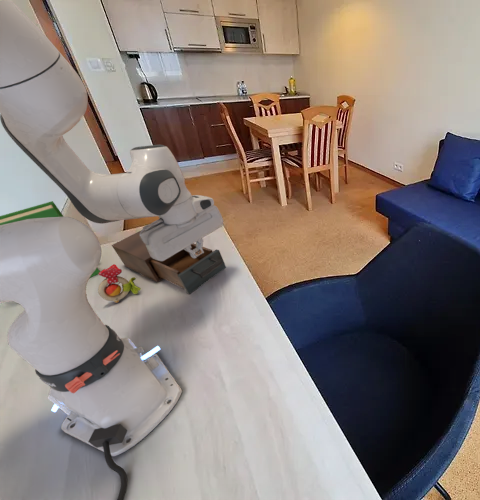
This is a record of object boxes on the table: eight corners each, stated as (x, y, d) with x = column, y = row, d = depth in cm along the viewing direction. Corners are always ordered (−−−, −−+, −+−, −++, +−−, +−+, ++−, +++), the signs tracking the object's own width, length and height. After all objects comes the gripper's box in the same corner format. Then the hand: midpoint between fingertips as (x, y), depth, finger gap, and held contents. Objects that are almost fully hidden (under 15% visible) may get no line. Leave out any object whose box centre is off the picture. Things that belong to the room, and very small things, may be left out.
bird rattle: (126, 310, 87) (149, 284, 90) (88, 294, 78) (114, 266, 81) (117, 302, 90) (140, 277, 93) (79, 286, 81) (105, 259, 85)
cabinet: (198, 256, 103) (188, 235, 98) (157, 282, 93) (144, 260, 88) (165, 243, 112) (154, 223, 107) (125, 266, 102) (111, 245, 97)
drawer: (237, 271, 92) (230, 253, 89) (200, 300, 83) (190, 281, 80) (190, 253, 103) (182, 236, 99) (153, 276, 94) (142, 259, 90)
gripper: (143, 232, 67) (170, 280, 75) (217, 196, 81) (233, 239, 89) (129, 227, 70) (156, 274, 78) (203, 193, 84) (219, 235, 92)
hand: (198, 255), depth 83 cm, fingers closed
